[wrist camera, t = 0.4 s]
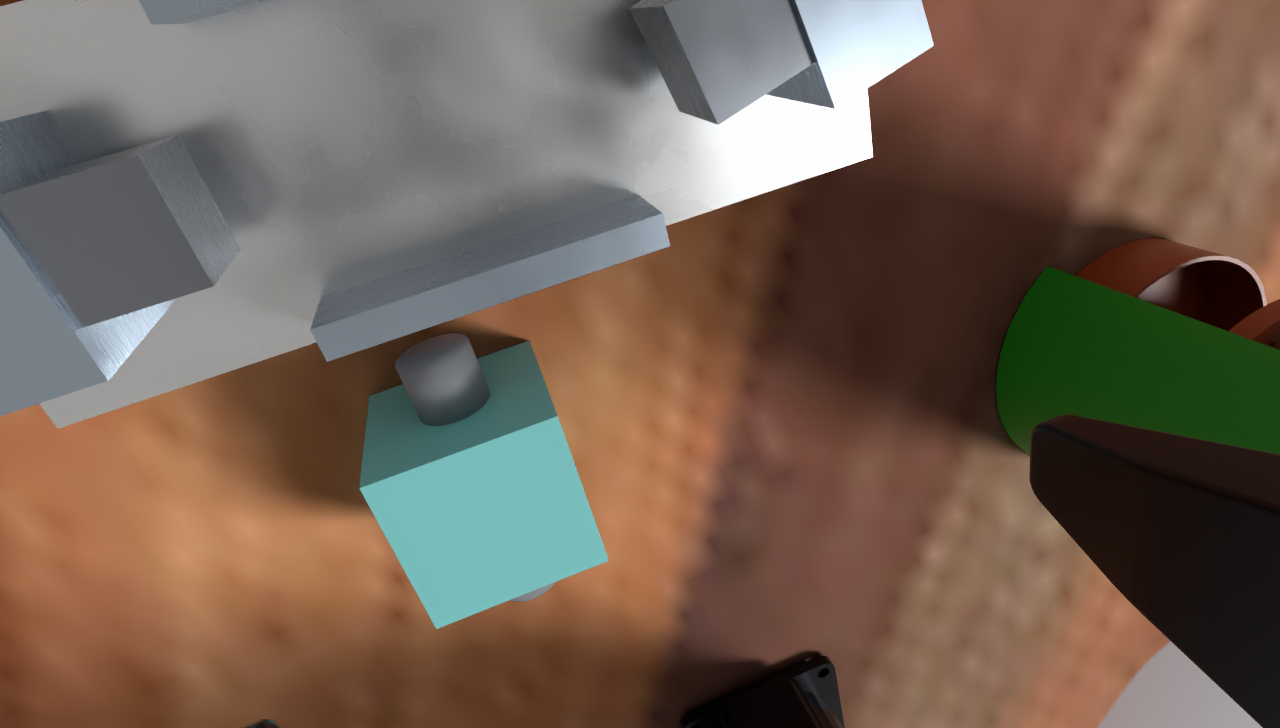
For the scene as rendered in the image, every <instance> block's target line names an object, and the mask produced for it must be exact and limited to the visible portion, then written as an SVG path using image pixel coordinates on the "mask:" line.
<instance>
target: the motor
mask: <svg viewBox="0 0 1280 728" xmlns="http://www.w3.org/2000/svg"><path fill="white" fill-rule="evenodd" d="M996 399H997V406H998V411H999V415H1000V418H1001V421H1002V424H1003V426H1004V428H1005V430H1006V432H1007V433H1008V435H1009V437H1010V438H1011V439H1012V441H1013V442H1014V443H1015V444H1016V445H1017V446H1018V447H1019V448H1021V449H1022V450H1023V451H1025V452H1026V453H1027V454H1029V455H1030V440H1031V432H1032V430H1033V429H1034V427H1035V426H1036V425H1037V424H1039V423H1042V422H1044V421H1047V420H1050V419H1052V418H1055V417H1058V416H1060V415H1066V414H1070V415H1076V416H1082V417H1087V418H1092V419H1097V420H1103V421H1108V422H1113V423H1118V424H1123V425H1129V426H1134V427H1139V428H1144V429H1150V430H1155V431H1160V432H1165V433H1171V434H1176V435H1181V436H1186V437H1191V438H1197V439H1202V440H1207V441H1212V442H1218V443H1223V444H1228V445H1233V446H1239V447H1244V448H1249V449H1254V450H1260V451H1265V452H1270V453H1275V454H1280V299H1279V300H1277V301H1274V302H1272V303H1270V304H1268V305H1267V303H1266V296H1265V291H1264V288H1263V285H1262V283H1261V281H1260V279H1259V277H1258V276H1257V274H1256V273H1255V272H1254V271H1253V269H1252V268H1250V267H1249V266H1248V265H1247V264H1245V263H1244V262H1242V261H1240V260H1237V259H1235V258H1231V257H1228V256H1224V255H1220V254H1217V253H1213V252H1209V251H1205V250H1202V249H1198V248H1194V247H1191V246H1187V245H1183V244H1180V243H1176V242H1172V241H1169V240H1165V239H1156V238H1149V239H1140V240H1135V241H1132V242H1128V243H1125V244H1123V245H1120V246H1118V247H1116V248H1114V249H1112V250H1110V251H1108V252H1106V253H1104V254H1103V255H1101V256H1099V257H1098V258H1096V259H1095V260H1094V261H1092V262H1091V263H1090V264H1088V265H1087V266H1086V267H1085V268H1083V269H1082V270H1081V271H1080V272H1079V273H1078V274H1077V275H1076V276H1074V275H1071V274H1069V273H1066V272H1063V271H1060V270H1058V269H1055V268H1052V267H1049V266H1047V267H1046V269H1045V270H1044V271H1043V272H1042V273H1041V275H1040V276H1039V277H1038V279H1037V280H1036V281H1035V283H1034V284H1033V285H1032V287H1031V288H1030V290H1029V291H1028V293H1027V294H1026V296H1025V298H1024V299H1023V301H1022V303H1021V305H1020V306H1019V308H1018V310H1017V312H1016V314H1015V316H1014V318H1013V320H1012V322H1011V325H1010V327H1009V329H1008V332H1007V334H1006V337H1005V340H1004V343H1003V346H1002V350H1001V354H1000V358H999V363H998V368H997V377H996Z"/></svg>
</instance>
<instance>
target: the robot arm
mask: <svg viewBox="0 0 1280 728" xmlns="http://www.w3.org/2000/svg"><path fill="white" fill-rule="evenodd" d="M1030 483H1031V487H1032V489H1033V492H1034V493H1035V495H1036V497H1037V498H1038V500H1039V501H1040V502H1041V503H1042V504H1043V506H1044V507H1045V508H1046V509H1047V510H1048V511H1049V512H1050V513H1051V515H1052V516H1053V517H1054V518H1055V519H1056V520H1057V521H1058V522H1059V524H1060V525H1061V526H1062V527H1063V528H1064V529H1065V530H1066V532H1067V533H1068V534H1069V535H1070V536H1071V537H1072V538H1073V539H1074V541H1075V542H1076V543H1077V544H1078V545H1079V546H1080V547H1081V548H1082V550H1083V551H1084V552H1085V553H1086V554H1087V555H1088V556H1089V558H1090V559H1091V560H1092V561H1093V562H1094V563H1095V564H1096V565H1097V567H1098V568H1099V569H1100V570H1101V571H1102V572H1103V573H1104V575H1105V576H1106V577H1107V578H1108V579H1109V580H1110V581H1111V582H1112V584H1113V585H1114V586H1115V587H1116V588H1117V589H1118V590H1119V591H1120V592H1121V593H1122V594H1123V595H1124V596H1125V597H1126V598H1127V600H1128V601H1130V602H1131V603H1132V604H1133V605H1134V606H1135V607H1136V608H1137V609H1138V610H1139V611H1140V612H1141V613H1142V614H1143V615H1144V616H1145V617H1146V618H1147V619H1148V620H1149V621H1150V622H1151V623H1152V624H1153V625H1154V626H1155V627H1156V628H1157V629H1159V630H1160V631H1161V632H1162V633H1163V634H1164V635H1165V636H1166V637H1167V638H1168V639H1169V640H1170V641H1171V642H1172V643H1173V644H1174V645H1176V646H1177V647H1178V648H1179V649H1180V650H1181V651H1182V652H1183V653H1184V654H1185V655H1186V656H1187V657H1188V658H1189V659H1190V660H1192V661H1193V662H1194V663H1195V664H1196V665H1197V666H1198V667H1199V668H1200V669H1201V670H1202V671H1203V672H1204V673H1205V674H1206V675H1207V676H1209V677H1210V678H1211V679H1212V680H1213V681H1214V682H1215V683H1216V684H1217V685H1218V686H1219V687H1220V688H1221V689H1222V690H1223V691H1224V692H1226V693H1227V694H1228V695H1229V696H1230V697H1231V698H1232V699H1233V700H1234V701H1235V702H1236V703H1237V704H1238V705H1239V706H1240V707H1242V708H1243V709H1244V710H1245V711H1246V712H1247V713H1248V714H1249V715H1250V716H1251V717H1252V718H1253V719H1254V720H1255V721H1256V722H1257V723H1258V724H1260V725H1261V726H1262V727H1263V728H1280V454H1275V453H1270V452H1265V451H1260V450H1254V449H1249V448H1244V447H1239V446H1233V445H1228V444H1223V443H1218V442H1212V441H1207V440H1202V439H1197V438H1191V437H1186V436H1181V435H1176V434H1171V433H1165V432H1160V431H1155V430H1150V429H1144V428H1139V427H1134V426H1129V425H1123V424H1118V423H1113V422H1108V421H1103V420H1097V419H1092V418H1087V417H1082V416H1076V415H1070V414H1066V415H1060V416H1058V417H1055V418H1052V419H1050V420H1047V421H1044V422H1042V423H1039V424H1037V425H1036V426H1035V427H1034V429H1033V430H1032V432H1031V440H1030ZM680 726H681V728H845V727H844V721H843V715H842V709H841V703H840V697H839V691H838V685H837V678H836V672H835V667H834V665H833V664H832V662H831V661H830V659H829V658H828V657H826V656H819V657H816V658H814V659H812V660H809V661H807V662H805V663H802V664H800V665H798V666H795V667H793V668H791V669H789V670H786V671H784V672H782V673H779V674H777V675H775V676H772V677H770V678H768V679H765V680H763V681H761V682H759V683H756V684H754V685H752V686H749V687H747V688H745V689H742V690H740V691H738V692H736V693H733V694H731V695H729V696H726V697H724V698H722V699H719V700H717V701H715V702H713V703H710V704H708V705H706V706H703V707H701V708H699V709H696V710H694V711H692V712H690V713H688V714H686V715H685V716H684V717H683V718H682V719H681V722H680ZM241 728H280V726H279V725H278V724H277V723H276V722H275V721H273V720H271V719H263V720H260V721H257V722H254V723H252V724H249V725H247V726H244V727H241Z"/></svg>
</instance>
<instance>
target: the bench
mask: <svg viewBox="0 0 1280 728" xmlns="http://www.w3.org/2000/svg"><path fill="white" fill-rule="evenodd" d="M932 46H934V44H933V40H932V37H931V33H930V30H929V26H928V23H927V19H926V15H925V12H924V8H923V5H922V1H921V0H23V1H19V2H15V3H12V4H8V5H4V6H0V416H2V415H5V414H8V413H11V412H14V411H17V410H20V409H24V408H27V407H30V406H33V405H36V404H39V405H40V406H41V407H42V409H43V410H44V411H45V412H46V414H47V415H48V416H49V418H50V419H51V420H52V422H53V423H54V424H55V425H56V427H57V428H61V427H64V426H67V425H70V424H73V423H76V422H79V421H82V420H85V419H88V418H91V417H94V416H97V415H100V414H103V413H106V412H109V411H112V410H115V409H118V408H121V407H124V406H127V405H130V404H133V403H136V402H139V401H142V400H145V399H148V398H151V397H154V396H157V395H160V394H163V393H166V392H169V391H172V390H175V389H178V388H181V387H184V386H187V385H190V384H193V383H196V382H199V381H202V380H205V379H208V378H211V377H214V376H217V375H220V374H223V373H226V372H229V371H232V370H235V369H238V368H241V367H244V366H247V365H250V364H253V363H256V362H259V361H262V360H265V359H268V358H271V357H274V356H277V355H280V354H283V353H286V352H289V351H292V350H295V349H298V348H301V347H304V346H307V345H310V344H313V343H316V342H317V344H318V346H319V348H320V350H321V352H322V354H323V356H324V357H325V359H326V361H327V362H328V361H331V360H334V359H337V358H340V357H343V356H346V355H349V354H352V353H355V352H358V351H361V350H364V349H367V348H370V347H373V346H376V345H379V344H382V343H385V342H388V341H391V340H394V339H396V338H399V337H402V336H405V335H408V334H411V333H414V332H417V331H420V330H423V329H426V328H429V327H432V326H435V325H438V324H441V323H444V322H447V321H450V320H453V319H456V318H459V317H462V316H465V315H468V314H471V313H474V312H476V311H479V310H482V309H485V308H488V307H491V306H494V305H497V304H500V303H503V302H506V301H509V300H512V299H515V298H518V297H521V296H524V295H527V294H530V293H533V292H536V291H539V290H542V289H545V288H548V287H551V286H553V285H556V284H559V283H562V282H565V281H568V280H571V279H574V278H577V277H580V276H583V275H586V274H589V273H592V272H595V271H598V270H601V269H604V268H607V267H610V266H613V265H616V264H619V263H622V262H625V261H628V260H631V259H633V258H636V257H639V256H642V255H645V254H648V253H651V252H654V251H657V250H660V249H663V248H666V247H669V246H670V242H669V238H668V234H667V230H666V226H667V225H670V224H673V223H676V222H679V221H682V220H685V219H688V218H691V217H694V216H697V215H700V214H703V213H706V212H709V211H712V210H715V209H718V208H721V207H724V206H727V205H730V204H733V203H736V202H739V201H742V200H745V199H748V198H751V197H754V196H757V195H760V194H763V193H766V192H769V191H772V190H775V189H778V188H781V187H784V186H787V185H790V184H793V183H796V182H799V181H802V180H805V179H808V178H811V177H814V176H817V175H820V174H823V173H826V172H829V171H832V170H835V169H838V168H841V167H844V166H847V165H850V164H853V163H856V162H859V161H862V160H865V159H868V158H871V157H873V151H872V139H871V127H870V115H869V102H868V90H867V88H869V87H870V86H872V85H873V84H875V83H877V82H878V81H880V80H881V79H883V78H884V77H886V76H887V75H889V74H891V73H892V72H894V71H895V70H897V69H898V68H900V67H901V66H903V65H905V64H906V63H908V62H909V61H911V60H912V59H914V58H915V57H917V56H918V55H920V54H922V53H923V52H925V51H926V50H928V49H929V48H931V47H932Z"/></svg>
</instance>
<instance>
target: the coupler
mask: <svg viewBox="0 0 1280 728" xmlns="http://www.w3.org/2000/svg"><path fill="white" fill-rule="evenodd" d="M395 368H396V370H397V372H398V374H399V376H400V378H401V381H402V383H403V384H402V385H399V386H396V387H394V388H391V389H388V390H385V391H382V392H379V393H376V394H373V395H371V396H369V404H368V413H367V422H366V431H365V440H364V450H363V459H362V468H361V477H360V486H359V489H360V491H361V492H362V494H363V496H364V498H365V500H366V502H367V503H368V505H369V507H370V509H371V511H372V513H373V514H374V516H375V518H376V520H377V522H378V523H379V525H380V527H381V529H382V531H383V533H384V534H385V536H386V538H387V540H388V542H389V544H390V545H391V547H392V549H393V551H394V553H395V554H396V556H397V558H398V560H399V562H400V564H401V565H402V567H403V569H404V571H405V573H406V575H407V576H408V578H409V580H410V582H411V584H412V585H413V587H414V589H415V591H416V593H417V595H418V596H419V598H420V600H421V602H422V604H423V605H424V607H425V609H426V611H427V613H428V615H429V616H430V618H431V620H432V622H433V624H434V626H435V627H436V629H438V628H441V627H443V626H446V625H448V624H451V623H453V622H456V621H458V620H461V619H463V618H466V617H468V616H471V615H473V614H476V613H478V612H481V611H483V610H486V609H488V608H491V607H494V606H496V605H499V604H501V603H504V602H506V601H509V600H511V601H517V602H522V601H528V600H531V599H534V598H537V597H539V596H540V595H542V594H544V593H545V592H547V591H548V590H549V589H550V588H551V587H552V586H553V585H554V584H555V582H556V581H559V580H561V579H564V578H566V577H569V576H571V575H574V574H577V573H579V572H582V571H584V570H587V569H589V568H592V567H594V566H597V565H599V564H602V563H604V562H607V561H609V559H608V556H607V554H606V551H605V548H604V545H603V542H602V540H601V537H600V534H599V531H598V528H597V526H596V523H595V520H594V517H593V514H592V511H591V509H590V506H589V503H588V500H587V497H586V495H585V492H584V489H583V486H582V483H581V481H580V478H579V475H578V472H577V469H576V467H575V464H574V461H573V458H572V455H571V452H570V450H569V447H568V444H567V441H566V438H565V436H564V433H563V430H562V427H561V424H560V422H559V419H558V416H557V413H556V411H555V408H554V405H553V403H552V400H551V397H550V395H549V392H548V389H547V386H546V384H545V381H544V378H543V376H542V373H541V370H540V368H539V365H538V362H537V360H536V357H535V354H534V352H533V349H532V346H531V344H530V341H526V342H523V343H520V344H517V345H515V346H512V347H509V348H506V349H503V350H500V351H497V352H494V353H492V354H489V355H486V356H483V357H480V358H476V356H475V353H474V351H473V348H472V346H471V344H470V341H469V339H468V337H467V336H466V335H463V334H459V333H451V334H444V335H439V336H435V337H432V338H429V339H427V340H424V341H422V342H420V343H418V344H416V345H414V346H412V347H411V348H409V349H408V350H406V351H405V352H404V353H403V354H401V355H400V356H399V358H398V359H397V360H396V363H395Z"/></svg>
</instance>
